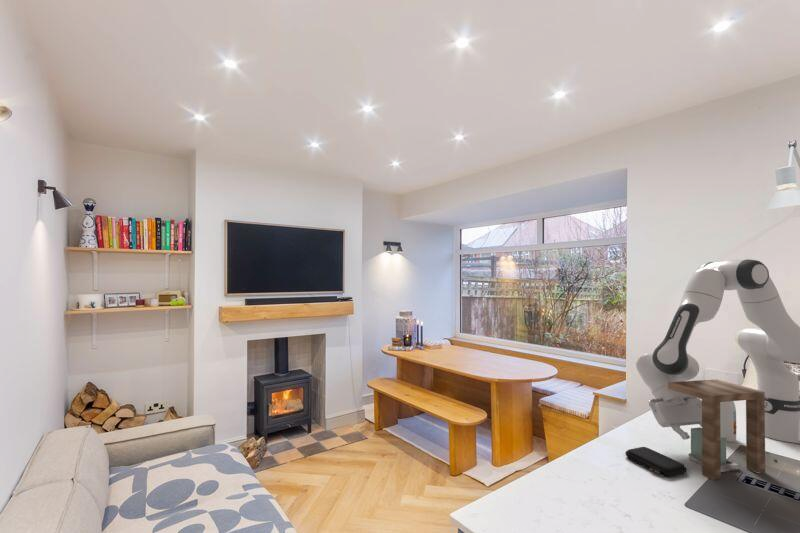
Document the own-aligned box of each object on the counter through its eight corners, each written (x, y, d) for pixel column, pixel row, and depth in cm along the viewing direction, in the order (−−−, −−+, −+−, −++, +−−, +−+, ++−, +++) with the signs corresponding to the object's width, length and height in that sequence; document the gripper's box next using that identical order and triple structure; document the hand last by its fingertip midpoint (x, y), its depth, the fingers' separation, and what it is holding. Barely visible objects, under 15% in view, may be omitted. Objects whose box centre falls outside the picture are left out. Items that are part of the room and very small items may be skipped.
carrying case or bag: (619, 458, 123) (665, 481, 109) (619, 448, 123) (665, 470, 109) (643, 453, 126) (690, 475, 113) (643, 444, 127) (690, 465, 113)
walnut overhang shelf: (716, 451, 128) (716, 379, 128) (765, 472, 114) (764, 391, 115) (668, 457, 123) (668, 382, 124) (712, 479, 110) (712, 395, 110)
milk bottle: (730, 444, 133) (729, 386, 134) (704, 436, 140) (704, 381, 141) (740, 440, 137) (740, 384, 137) (714, 432, 144) (714, 379, 144)
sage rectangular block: (700, 454, 125) (700, 427, 125) (726, 467, 117) (726, 437, 118) (690, 456, 124) (690, 428, 124) (716, 468, 116) (716, 438, 117)
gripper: (651, 395, 129) (679, 436, 119) (699, 391, 134) (729, 430, 124) (640, 403, 133) (666, 444, 124) (687, 400, 138) (715, 438, 128)
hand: (698, 437), depth 124 cm, fingers open, 8 cm apart
